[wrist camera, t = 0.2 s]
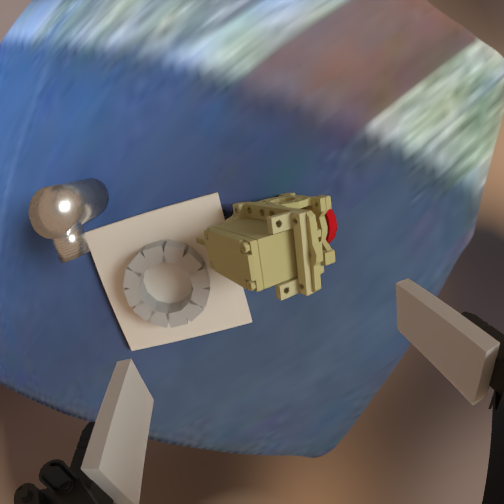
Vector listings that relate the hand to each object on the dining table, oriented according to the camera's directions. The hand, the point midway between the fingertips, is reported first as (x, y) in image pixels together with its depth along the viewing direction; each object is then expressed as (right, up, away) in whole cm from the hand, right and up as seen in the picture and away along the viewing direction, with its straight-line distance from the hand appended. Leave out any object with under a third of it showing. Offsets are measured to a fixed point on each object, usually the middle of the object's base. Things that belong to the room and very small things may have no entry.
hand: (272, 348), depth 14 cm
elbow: (-21, +10, +23) cm, 33 cm away
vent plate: (-12, +1, +27) cm, 29 cm away
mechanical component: (+3, +8, +28) cm, 29 cm away
